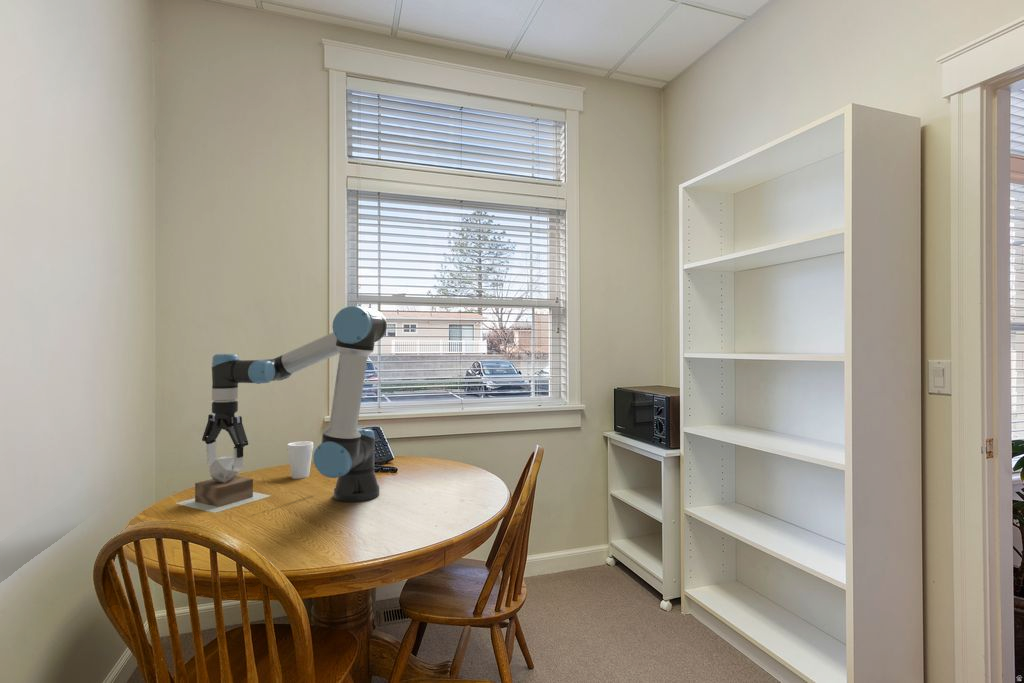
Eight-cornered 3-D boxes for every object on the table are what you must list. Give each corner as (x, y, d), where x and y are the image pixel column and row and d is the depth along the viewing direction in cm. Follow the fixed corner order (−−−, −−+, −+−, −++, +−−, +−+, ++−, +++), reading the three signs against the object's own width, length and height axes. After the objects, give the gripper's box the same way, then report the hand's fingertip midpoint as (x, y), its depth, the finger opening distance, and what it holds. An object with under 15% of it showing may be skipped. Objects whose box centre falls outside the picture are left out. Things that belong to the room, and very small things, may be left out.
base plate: (271, 498, 176) (271, 495, 176) (214, 516, 158) (214, 512, 158) (233, 490, 185) (233, 487, 185) (175, 506, 167) (175, 503, 167)
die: (208, 487, 166) (227, 463, 166) (198, 471, 171) (217, 447, 171) (230, 491, 173) (248, 467, 173) (220, 474, 177) (238, 451, 178)
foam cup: (296, 473, 210) (296, 440, 210) (317, 474, 209) (317, 441, 209) (282, 479, 201) (282, 445, 201) (305, 480, 200) (305, 446, 200)
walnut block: (252, 497, 174) (252, 479, 174) (218, 507, 164) (218, 488, 164) (229, 492, 180) (229, 474, 180) (195, 501, 169) (195, 483, 169)
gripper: (260, 401, 169) (260, 467, 169) (212, 397, 181) (211, 459, 181) (239, 404, 163) (238, 472, 163) (190, 399, 174) (190, 463, 174)
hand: (224, 465), depth 172 cm, fingers open, 13 cm apart
